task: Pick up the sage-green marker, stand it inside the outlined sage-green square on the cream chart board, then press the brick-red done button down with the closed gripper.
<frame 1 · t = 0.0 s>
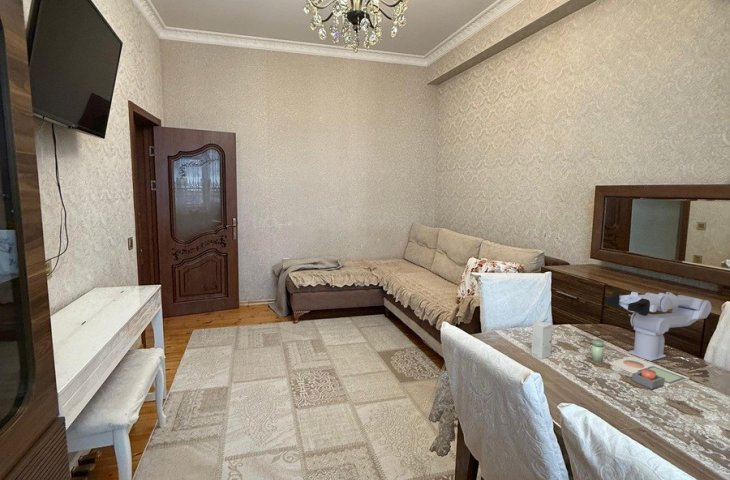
hand: (617, 304, 131), 22 cm above the table, tool horizontal, fingers open, 7 cm apart
button housing: (647, 383, 120), on the table
done button: (648, 375, 120), point 3 cm above the table, slide at 0.0 cm
skincare box: (540, 355, 141), on the table
sage marker: (596, 359, 137), on the table
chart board: (647, 371, 129), on the table
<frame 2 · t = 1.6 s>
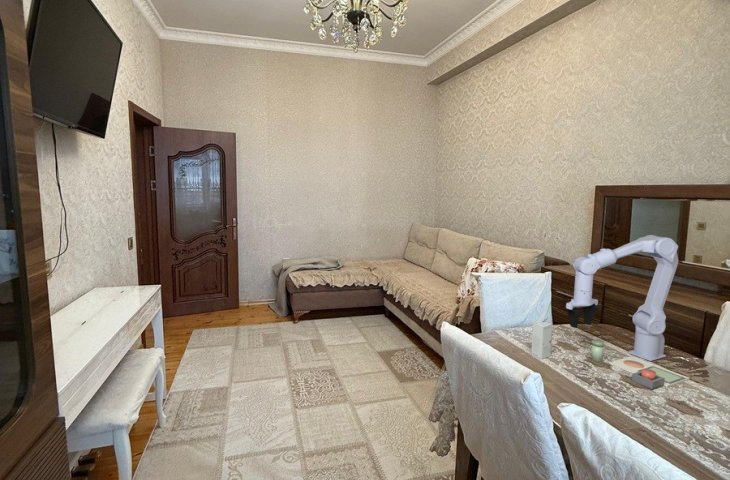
hand: (580, 325, 142), 10 cm above the table, tool pointing down, fingers open, 7 cm apart
nothing on the table moved.
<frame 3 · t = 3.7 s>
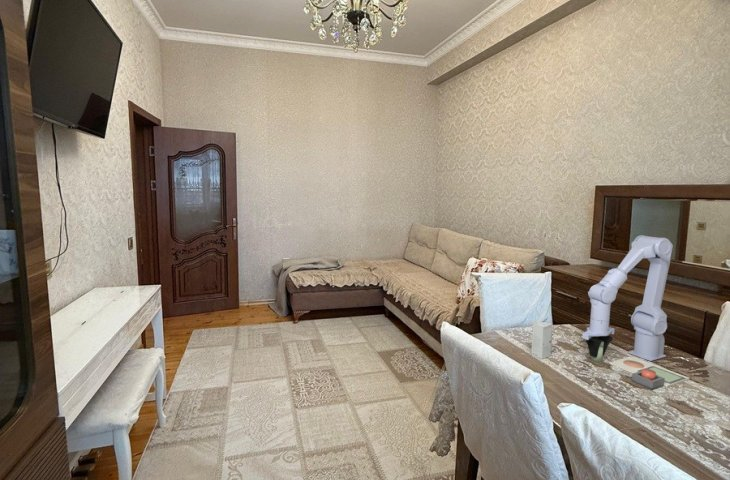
hand: (596, 355, 137), 2 cm above the table, tool pointing down, fingers closed on sage marker, 3 cm apart
sage marker: (596, 359, 137), on the table, touching gripper
everything else where it was.
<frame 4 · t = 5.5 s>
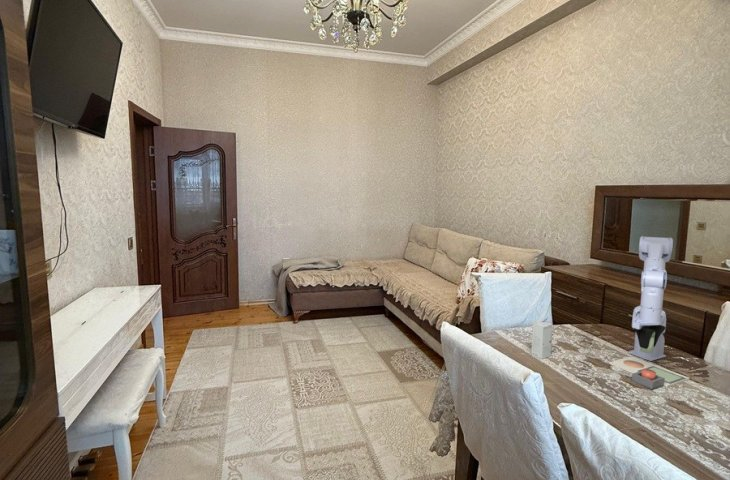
hand: (647, 346, 127), 9 cm above the table, tool pointing down, fingers closed on sage marker, 3 cm apart
sage marker: (646, 351, 127), point 7 cm above the table, touching gripper
everything else where it was.
when the fingers open (4 cm above the table, at t = 7.4 s): sage marker drops 1 cm, resting on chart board.
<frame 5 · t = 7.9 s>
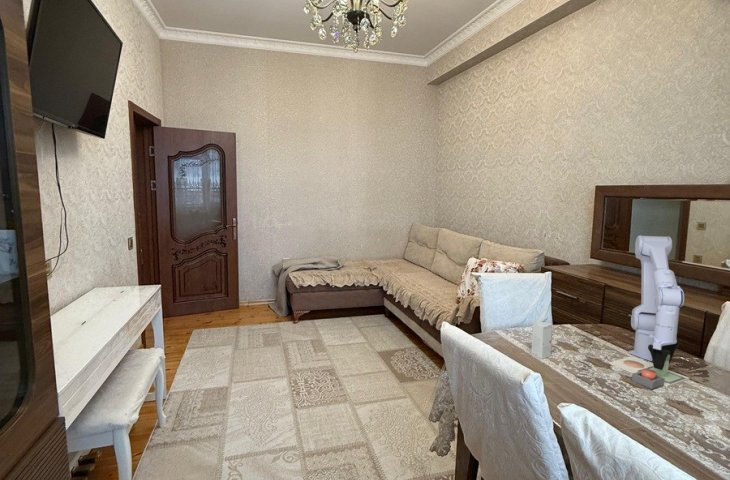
hand: (662, 365, 125), 4 cm above the table, tool pointing down, fingers open, 7 cm apart
sage marker: (660, 374, 125), point 1 cm above the table, touching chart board
everything else where it was.
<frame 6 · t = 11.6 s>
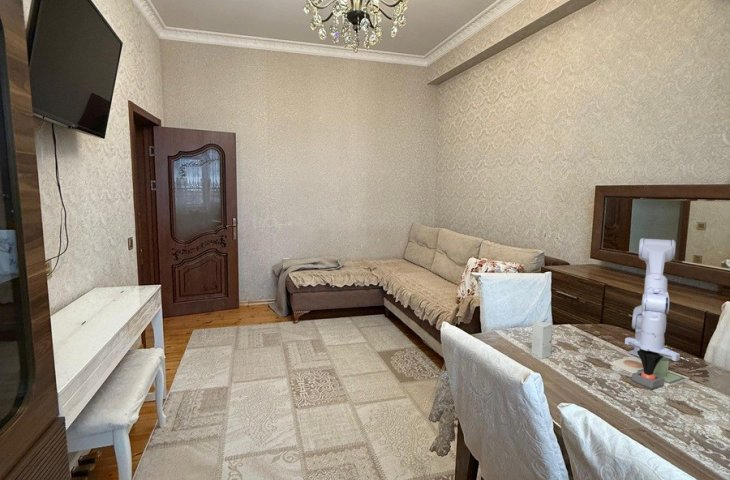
hand: (648, 373, 120), 3 cm above the table, tool pointing down, fingers closed, pressing on done button
done button: (648, 377, 120), point 2 cm above the table, slide at 0.8 cm, touching gripper
everything else where it was.
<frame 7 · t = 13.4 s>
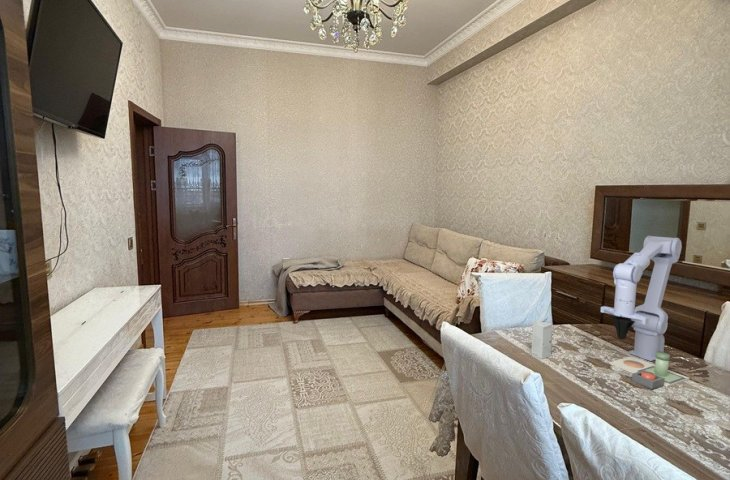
hand: (621, 338, 130), 10 cm above the table, tool pointing down, fingers closed
done button: (648, 377, 120), point 2 cm above the table, slide at 0.8 cm
everything else where it was.
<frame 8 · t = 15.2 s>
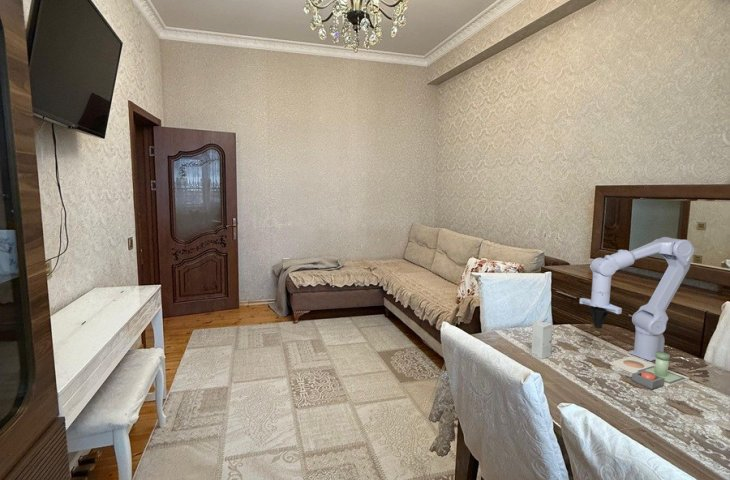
hand: (598, 327, 141), 10 cm above the table, tool pointing down, fingers closed
nothing on the table moved.
at the end: sage marker 0.1 cm from the target spot on the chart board, point 0.7 cm above the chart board's base; sage marker tilted 0°; done button slide at 0.8 cm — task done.
